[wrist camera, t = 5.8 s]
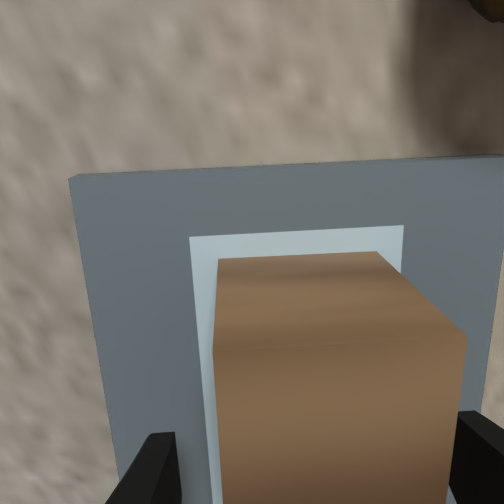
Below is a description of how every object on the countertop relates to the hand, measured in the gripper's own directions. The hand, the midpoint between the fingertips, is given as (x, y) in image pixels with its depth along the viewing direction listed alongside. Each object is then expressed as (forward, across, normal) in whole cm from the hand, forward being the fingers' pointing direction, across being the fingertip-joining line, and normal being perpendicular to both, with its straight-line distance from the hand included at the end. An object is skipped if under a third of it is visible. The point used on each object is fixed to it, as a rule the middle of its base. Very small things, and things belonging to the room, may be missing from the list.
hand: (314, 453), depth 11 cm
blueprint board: (+3, 0, 0) cm, 3 cm away
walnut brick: (+3, 0, 0) cm, 3 cm away
